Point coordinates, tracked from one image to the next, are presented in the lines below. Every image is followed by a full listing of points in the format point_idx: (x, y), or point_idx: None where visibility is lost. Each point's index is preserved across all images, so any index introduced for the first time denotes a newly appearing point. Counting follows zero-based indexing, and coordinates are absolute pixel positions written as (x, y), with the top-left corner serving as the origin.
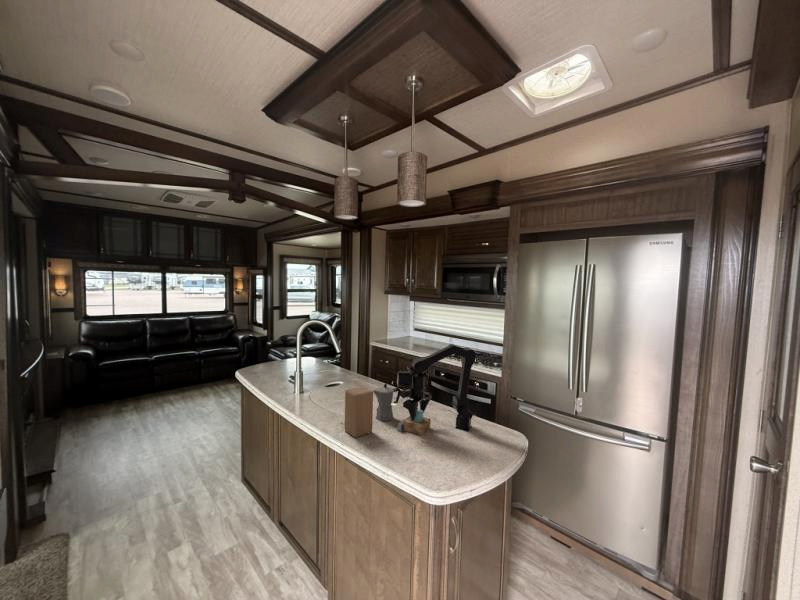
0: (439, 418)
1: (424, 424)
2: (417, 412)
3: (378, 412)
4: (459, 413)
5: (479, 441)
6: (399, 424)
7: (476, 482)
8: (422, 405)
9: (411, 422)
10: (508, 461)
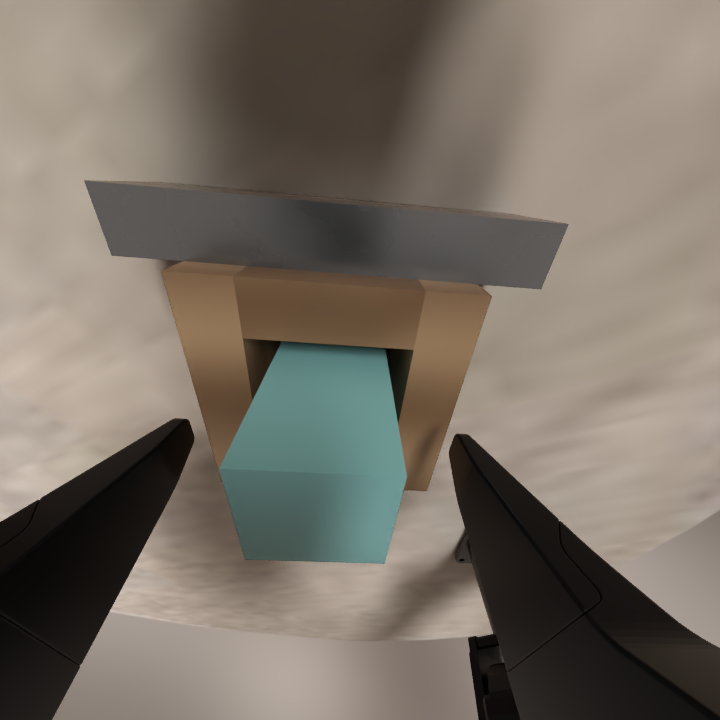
0: (631, 417)
1: None
2: (263, 535)
3: None
4: (491, 677)
5: (379, 587)
6: (101, 220)
7: (113, 611)
8: (523, 601)
9: (210, 384)
10: (293, 633)
